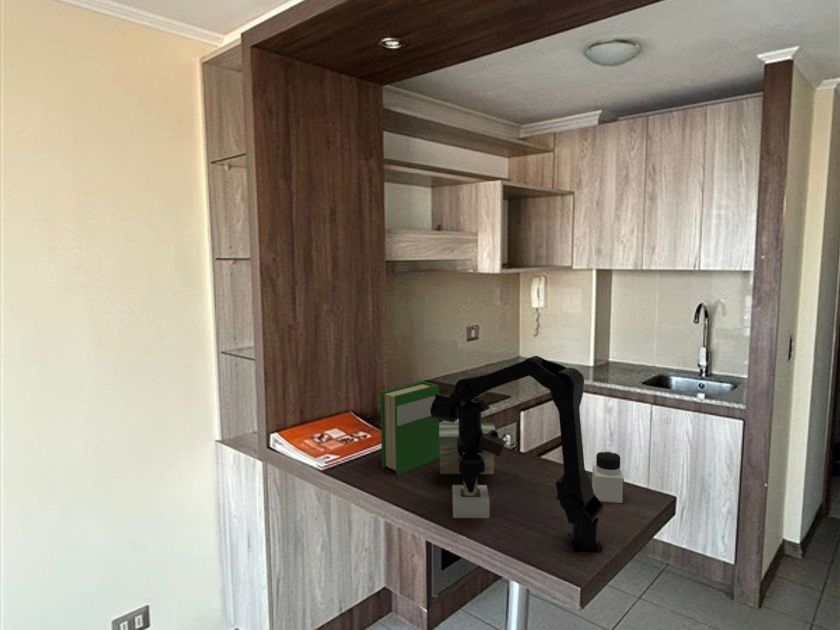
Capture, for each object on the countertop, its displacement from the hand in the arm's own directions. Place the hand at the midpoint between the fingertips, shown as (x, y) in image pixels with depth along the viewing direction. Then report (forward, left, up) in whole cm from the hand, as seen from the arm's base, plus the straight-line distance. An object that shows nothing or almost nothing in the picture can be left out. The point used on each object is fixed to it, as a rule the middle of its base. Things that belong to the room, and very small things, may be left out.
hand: (470, 484), depth 141 cm
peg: (0, 0, -7) cm, 7 cm away
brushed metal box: (+18, 0, -7) cm, 19 cm away
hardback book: (+30, +17, -7) cm, 35 cm away
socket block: (0, 0, -7) cm, 7 cm away
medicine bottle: (+8, -37, -7) cm, 39 cm away
